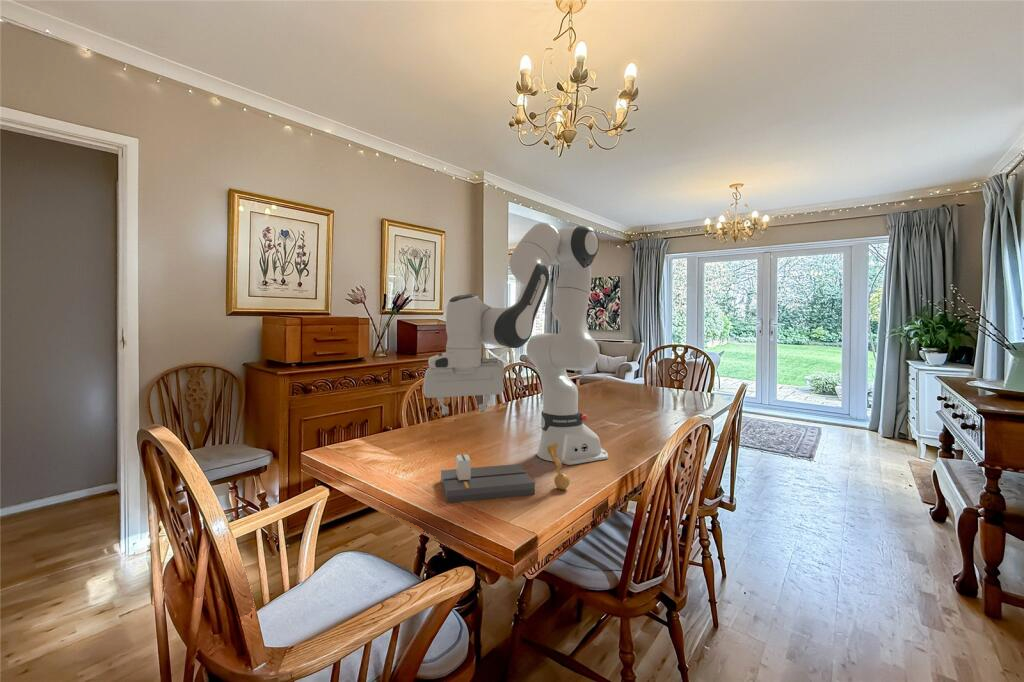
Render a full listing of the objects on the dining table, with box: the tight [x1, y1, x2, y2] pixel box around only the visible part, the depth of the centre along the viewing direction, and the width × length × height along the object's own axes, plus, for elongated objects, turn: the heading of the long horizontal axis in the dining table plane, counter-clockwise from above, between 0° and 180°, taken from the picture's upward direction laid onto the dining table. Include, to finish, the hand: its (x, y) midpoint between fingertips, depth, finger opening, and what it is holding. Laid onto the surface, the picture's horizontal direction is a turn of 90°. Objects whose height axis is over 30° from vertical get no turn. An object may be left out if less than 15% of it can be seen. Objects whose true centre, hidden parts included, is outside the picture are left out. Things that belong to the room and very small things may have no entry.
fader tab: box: [455, 454, 472, 480], centre depth 114 cm, size 3×4×7 cm, turn 15°
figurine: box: [547, 443, 571, 490], centre depth 115 cm, size 8×6×12 cm
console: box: [440, 463, 536, 504], centre depth 115 cm, size 22×14×3 cm, turn 105°
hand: (464, 413), depth 113 cm, fingers open, 8 cm apart
